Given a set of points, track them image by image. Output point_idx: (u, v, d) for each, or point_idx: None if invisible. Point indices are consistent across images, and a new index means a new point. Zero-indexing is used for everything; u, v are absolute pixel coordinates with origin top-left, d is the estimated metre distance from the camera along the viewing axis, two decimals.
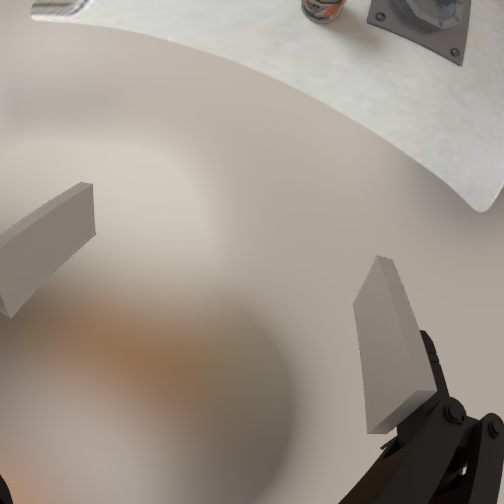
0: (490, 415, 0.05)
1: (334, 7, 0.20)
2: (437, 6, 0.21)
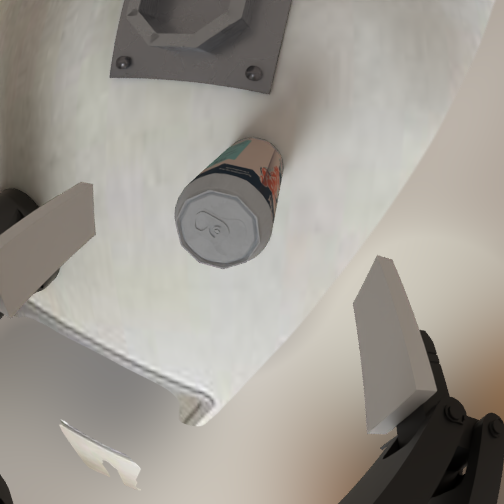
0: (490, 415, 0.05)
1: (274, 185, 0.16)
2: None
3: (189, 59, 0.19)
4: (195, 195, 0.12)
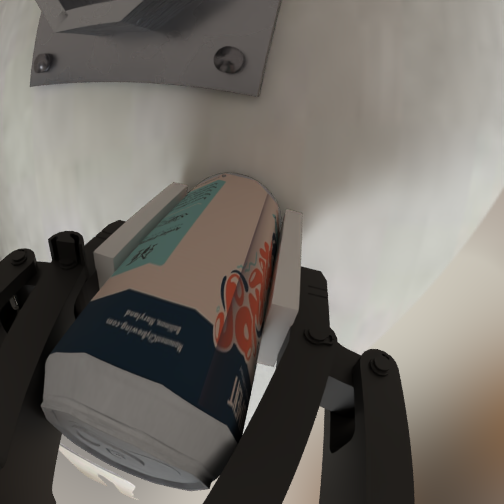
0: (370, 351, 0.07)
1: (254, 316, 0.07)
2: None
3: (126, 45, 0.10)
4: (52, 406, 0.04)
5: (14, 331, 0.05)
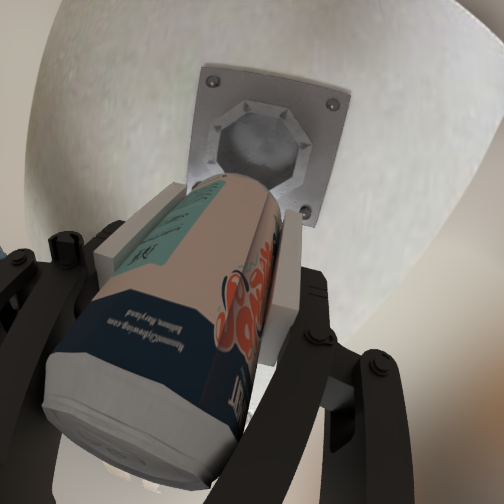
0: (370, 351, 0.07)
1: (254, 316, 0.07)
2: (261, 127, 0.26)
3: None
4: (52, 406, 0.04)
5: (14, 331, 0.05)
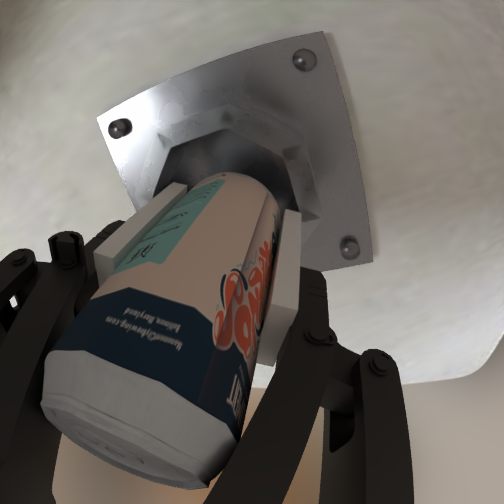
0: (369, 351, 0.07)
1: (253, 315, 0.07)
2: (264, 169, 0.16)
3: None
4: (51, 404, 0.04)
5: (14, 331, 0.05)
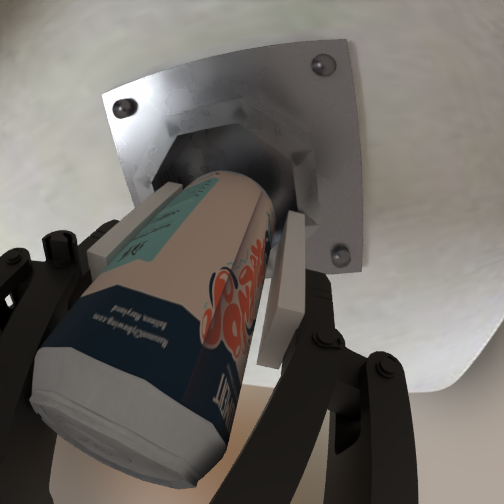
0: (376, 354, 0.07)
1: (243, 313, 0.07)
2: (267, 168, 0.15)
3: None
4: (39, 400, 0.04)
5: (9, 330, 0.05)
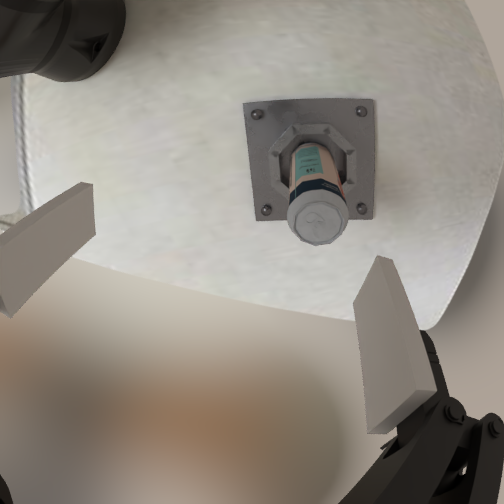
0: (490, 415, 0.05)
1: (343, 193, 0.24)
2: None
3: (266, 166, 0.32)
4: (312, 203, 0.20)
5: None
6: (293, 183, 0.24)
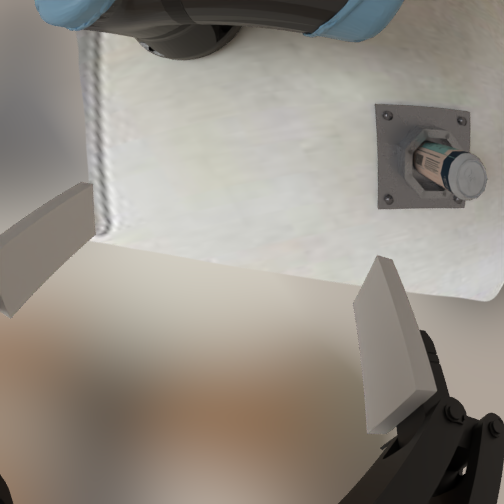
0: (490, 415, 0.05)
1: None
2: None
3: (392, 161, 0.33)
4: (471, 159, 0.20)
5: None
6: (441, 155, 0.24)
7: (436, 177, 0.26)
